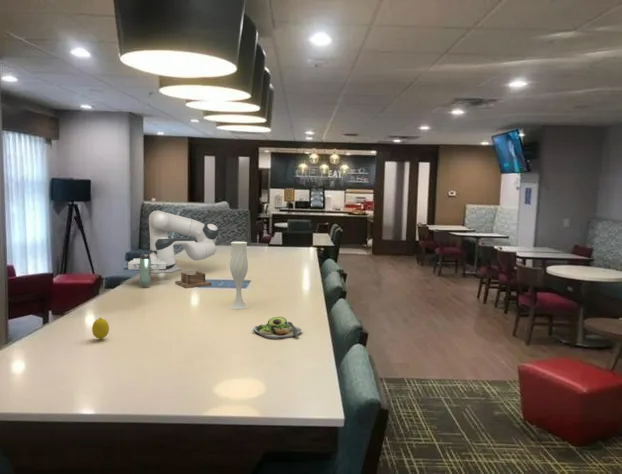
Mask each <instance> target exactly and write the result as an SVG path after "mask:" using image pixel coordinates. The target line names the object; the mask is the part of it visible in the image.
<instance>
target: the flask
mask: <svg viewBox="0 0 622 474" xmlns="http://www.w3.org/2000/svg"><path fill="white" fill-rule="evenodd" d="M139 258H140V270H139V284H140V285H141V286H148V285H152V273H151V258H150V253H149V254H147V253H141V254H140V257H139Z"/></svg>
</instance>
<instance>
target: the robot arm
mask: <svg viewBox="0 0 622 474" xmlns="http://www.w3.org/2000/svg"><path fill="white" fill-rule="evenodd" d="M148 227H149V228H148V229H149V244H150V245H149V254H150V258H151V274H153V273H155V274H161V273H163V274H165V273H174V272H177V271H179V270H182V267H180V266H178V260H177V259H176V254H175V249H174V246H175V245H176V246H178V245H180V246H182V247H183V249H184V251H185V253H186V255H187V256H188V257H189V259H191V260H193V261H201V260H205V259H207V258H210V257H212V256H214V255H215V253H216V252H217V246H216V243H217V238H218V237H219V233H220V229H219V227H218V226H217V224H215V223H212V222H211V223H206V224H204V223H203V222H201V221H199V220H196V219H193V218H189V217H185V216H182V215H177V214H173V213H170V212H166V211H161V210H159V209H158V210H153V211H151V212H150V214H149V215H148ZM168 232H172V233H177V234H181V235H183V236H184V235H185V236H190V237H193V238H195V239H196V240H194V239H193V238H186V237H183V238H181V237H177V238H175V237H173V238H171V237H169V235H168ZM140 258H141V257H135V258H132V260H129V261H128V262H127V269H128V270H129V271H130V270H134V271H140Z"/></svg>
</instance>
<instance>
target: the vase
mask: <svg viewBox="0 0 622 474" xmlns="http://www.w3.org/2000/svg"><path fill="white" fill-rule="evenodd" d="M230 244H231V253H230V256H231V258H230V261H229V267H230V268H229V270H230V273H231V277H232V279H233V282H234V284H235V288H236V289H235V290H236V295H235V298H234V301H233V303H232V304H231V305H230V306H229V309H233V310H245V309H248V308H249V306H248V305H247V304H245V302H244V299H243V296H242V287H243V283H244V280H245V278H246V276H247V273H248V270H249V269H248V268H249V262H248V253H247V252H248V251H247V245H248V242H247V241H230Z"/></svg>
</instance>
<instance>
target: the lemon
mask: <svg viewBox="0 0 622 474" xmlns="http://www.w3.org/2000/svg"><path fill="white" fill-rule="evenodd" d="M91 329H92V330H91V331H92V335H93V337H95V338H96V339H99V340H101V341H102V340H103V339H104V338H106V337H107V335H108V334H109V331H110V325H109V322H108V321H107V319H104V318H102V317H98V319H96V320H95V321H94V322H93V324H92V327H91Z"/></svg>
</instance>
